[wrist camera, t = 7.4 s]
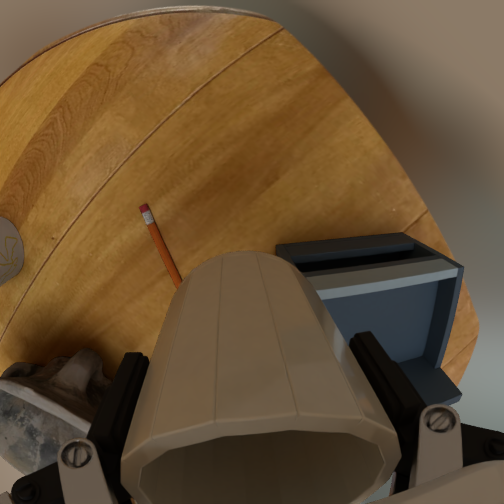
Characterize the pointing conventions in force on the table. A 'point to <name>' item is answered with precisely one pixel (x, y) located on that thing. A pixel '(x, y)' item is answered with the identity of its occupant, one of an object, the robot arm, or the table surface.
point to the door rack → (389, 299)
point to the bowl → (48, 407)
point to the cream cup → (254, 397)
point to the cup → (10, 251)
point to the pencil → (160, 245)
